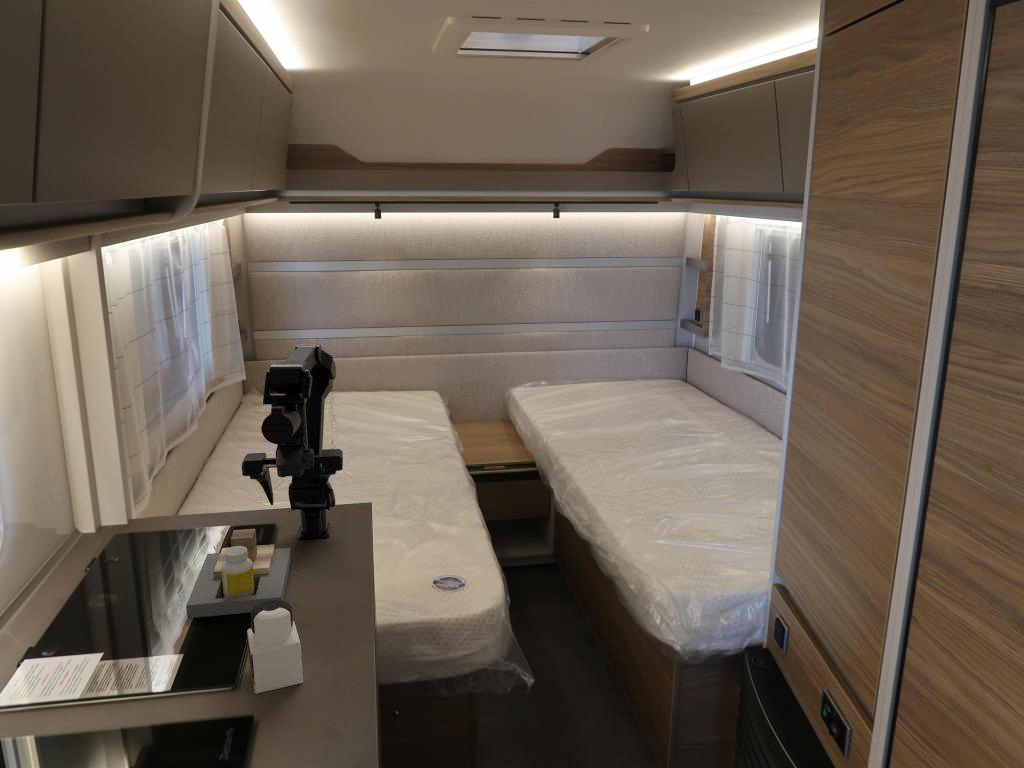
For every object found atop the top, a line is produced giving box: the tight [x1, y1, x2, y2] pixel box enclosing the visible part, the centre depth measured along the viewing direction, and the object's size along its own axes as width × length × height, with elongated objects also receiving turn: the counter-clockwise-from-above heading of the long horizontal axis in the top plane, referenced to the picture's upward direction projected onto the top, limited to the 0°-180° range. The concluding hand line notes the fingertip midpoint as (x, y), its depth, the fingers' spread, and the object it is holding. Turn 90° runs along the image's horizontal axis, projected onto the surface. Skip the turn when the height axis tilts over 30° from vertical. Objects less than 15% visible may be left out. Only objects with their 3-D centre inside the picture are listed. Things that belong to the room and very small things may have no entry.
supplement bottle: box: [221, 546, 256, 598], centre depth 142 cm, size 5×5×10 cm
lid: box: [213, 528, 276, 578], centre depth 150 cm, size 10×10×6 cm
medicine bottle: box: [246, 600, 304, 694], centre depth 119 cm, size 7×7×12 cm
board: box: [185, 547, 292, 619], centre depth 147 cm, size 20×16×2 cm
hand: (296, 502), depth 154 cm, fingers open, 9 cm apart
